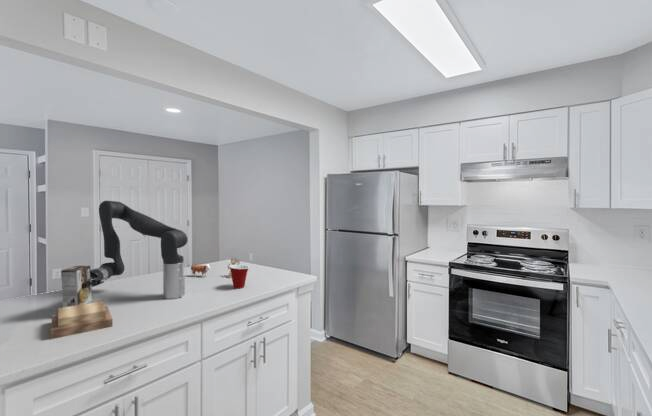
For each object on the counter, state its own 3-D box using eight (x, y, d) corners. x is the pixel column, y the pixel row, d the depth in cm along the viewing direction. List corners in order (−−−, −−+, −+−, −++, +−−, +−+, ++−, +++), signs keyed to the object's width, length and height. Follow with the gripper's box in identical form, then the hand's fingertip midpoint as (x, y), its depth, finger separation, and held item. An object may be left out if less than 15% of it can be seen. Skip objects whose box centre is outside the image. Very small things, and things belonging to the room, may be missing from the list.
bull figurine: (208, 278, 197) (208, 265, 197) (189, 276, 200) (189, 263, 200) (212, 276, 201) (212, 263, 201) (193, 275, 204) (193, 262, 204)
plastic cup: (252, 288, 177) (252, 266, 177) (232, 291, 171) (233, 268, 170) (245, 283, 186) (245, 263, 186) (226, 286, 180) (226, 265, 179)
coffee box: (77, 301, 141) (75, 265, 140) (92, 301, 142) (91, 265, 141) (61, 308, 132) (60, 270, 131) (78, 308, 133) (76, 270, 132)
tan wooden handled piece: (228, 278, 197) (228, 259, 197) (225, 277, 200) (225, 258, 200) (241, 275, 204) (241, 257, 204) (238, 274, 207) (238, 256, 206)
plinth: (107, 312, 136) (107, 299, 136) (112, 326, 123) (112, 311, 122) (52, 322, 125) (52, 307, 125) (50, 339, 111) (50, 322, 111)
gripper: (78, 269, 149) (54, 278, 133) (111, 268, 152) (92, 277, 135) (78, 285, 150) (54, 296, 133) (112, 283, 152) (92, 294, 136)
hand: (73, 286), depth 134 cm, fingers closed on coffee box, 6 cm apart
